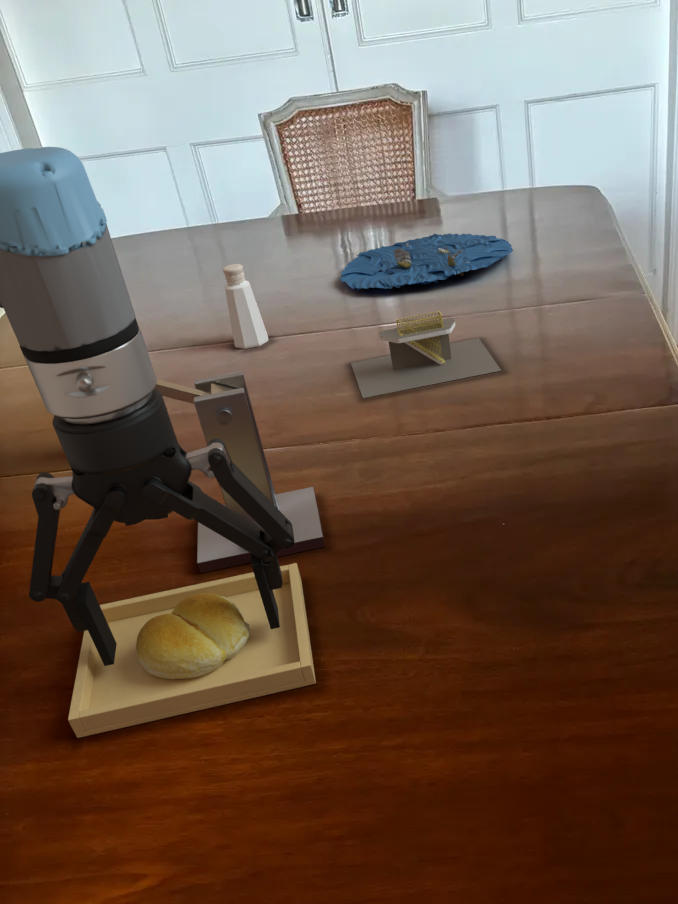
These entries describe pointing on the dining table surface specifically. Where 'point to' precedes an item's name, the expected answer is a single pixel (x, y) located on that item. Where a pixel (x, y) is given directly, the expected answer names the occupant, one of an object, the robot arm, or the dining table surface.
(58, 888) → the dining table surface
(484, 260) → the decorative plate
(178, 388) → the lever
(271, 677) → the wooden tray
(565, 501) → the dining table surface
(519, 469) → the dining table surface
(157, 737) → the dining table surface
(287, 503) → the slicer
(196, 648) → the bread roll
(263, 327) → the pepper shaker
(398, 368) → the platform
